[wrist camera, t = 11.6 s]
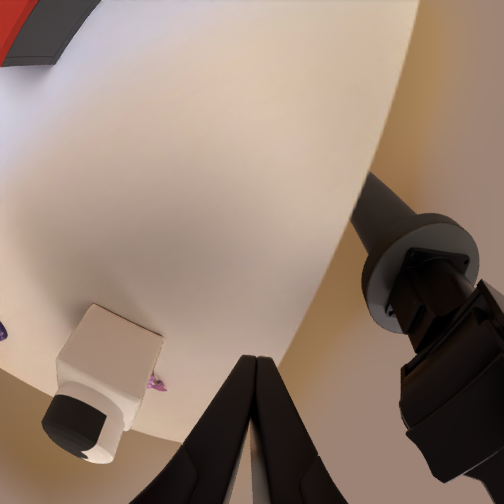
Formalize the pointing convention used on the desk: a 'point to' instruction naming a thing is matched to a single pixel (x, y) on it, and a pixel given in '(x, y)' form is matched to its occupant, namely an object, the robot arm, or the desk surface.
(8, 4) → the lid
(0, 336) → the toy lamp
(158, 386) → the pink bumpy piece
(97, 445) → the container
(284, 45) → the desk surface
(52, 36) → the box
